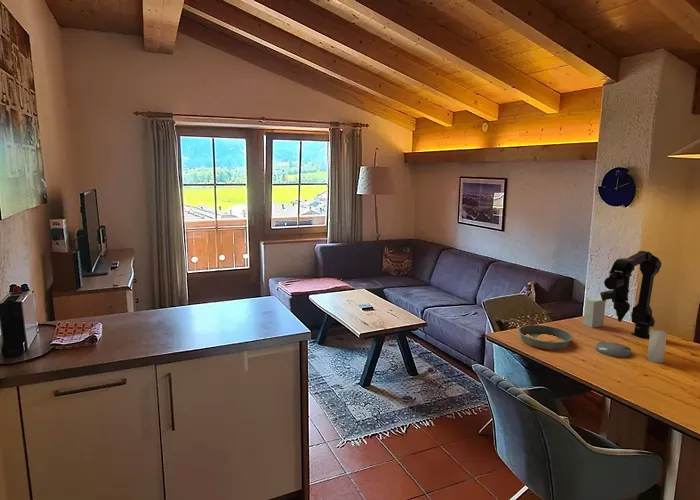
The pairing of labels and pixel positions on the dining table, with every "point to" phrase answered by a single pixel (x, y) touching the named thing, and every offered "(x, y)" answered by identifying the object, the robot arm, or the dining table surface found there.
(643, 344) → the dining table surface
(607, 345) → the slate plinth
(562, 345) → the cake pan
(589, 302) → the skincare box
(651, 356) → the white post
